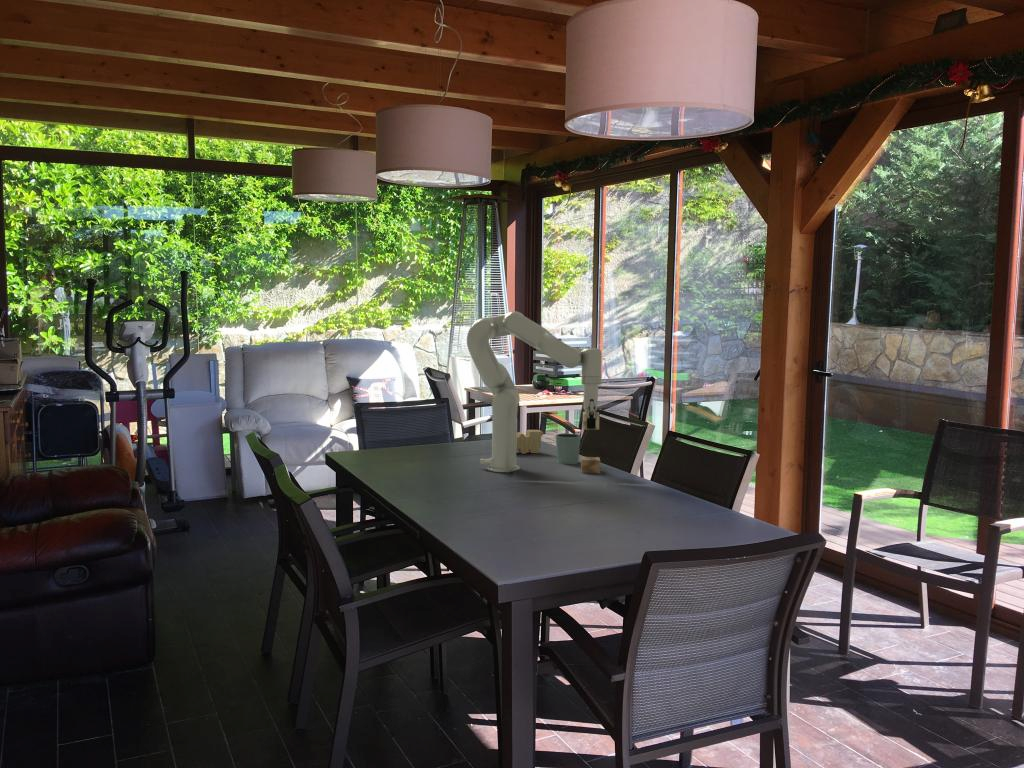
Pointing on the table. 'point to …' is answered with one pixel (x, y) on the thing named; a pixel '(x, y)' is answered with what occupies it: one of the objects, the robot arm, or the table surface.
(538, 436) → the toy train
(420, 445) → the table surface
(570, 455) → the green cup
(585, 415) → the birch cube
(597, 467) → the walnut base block
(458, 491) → the table surface
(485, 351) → the robot arm
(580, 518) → the table surface
